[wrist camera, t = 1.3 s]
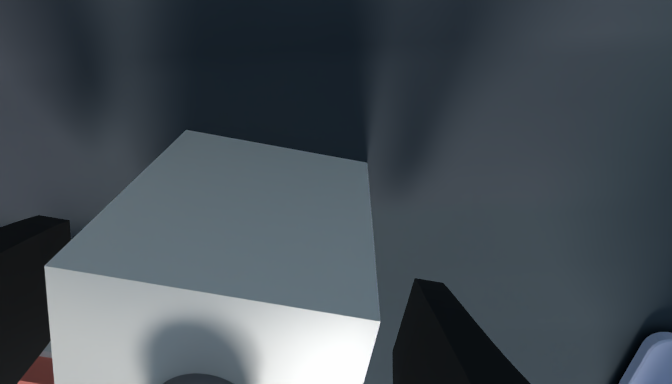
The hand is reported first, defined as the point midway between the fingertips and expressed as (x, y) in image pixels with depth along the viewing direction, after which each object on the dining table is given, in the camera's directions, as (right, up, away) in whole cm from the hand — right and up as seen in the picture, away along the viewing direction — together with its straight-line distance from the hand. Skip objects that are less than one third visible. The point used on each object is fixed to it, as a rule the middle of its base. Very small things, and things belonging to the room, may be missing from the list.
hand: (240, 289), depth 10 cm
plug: (0, +1, +3) cm, 3 cm away
